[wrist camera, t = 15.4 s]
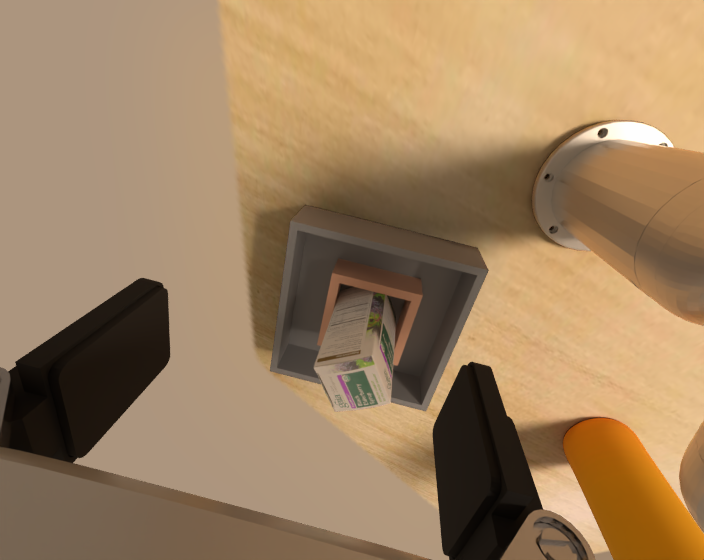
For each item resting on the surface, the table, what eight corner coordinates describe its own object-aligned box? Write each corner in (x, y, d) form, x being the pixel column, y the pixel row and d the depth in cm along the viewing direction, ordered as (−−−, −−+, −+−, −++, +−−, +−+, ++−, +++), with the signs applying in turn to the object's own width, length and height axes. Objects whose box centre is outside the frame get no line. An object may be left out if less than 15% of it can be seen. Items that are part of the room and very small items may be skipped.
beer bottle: (629, 460, 51) (857, 822, 25) (559, 462, 53) (705, 800, 27) (636, 413, 47) (912, 784, 22) (560, 417, 49) (731, 761, 24)
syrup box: (397, 317, 44) (395, 405, 31) (353, 327, 46) (333, 415, 33) (383, 277, 42) (374, 355, 29) (337, 289, 44) (310, 368, 31)
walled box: (477, 247, 40) (488, 270, 35) (423, 377, 49) (426, 411, 44) (305, 204, 40) (290, 220, 35) (284, 342, 50) (269, 371, 44)
